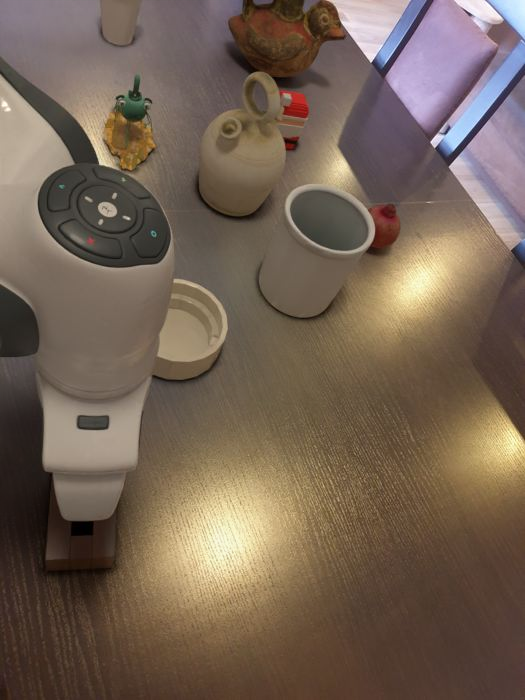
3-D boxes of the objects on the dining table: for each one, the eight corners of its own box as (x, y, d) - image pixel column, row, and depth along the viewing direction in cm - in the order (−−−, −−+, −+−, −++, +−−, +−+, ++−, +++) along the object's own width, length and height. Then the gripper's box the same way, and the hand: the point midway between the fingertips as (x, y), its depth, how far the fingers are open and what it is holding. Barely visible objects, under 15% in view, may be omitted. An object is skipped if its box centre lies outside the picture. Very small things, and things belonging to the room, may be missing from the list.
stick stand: (46, 571, 66) (44, 560, 61) (54, 470, 72) (53, 452, 68) (111, 567, 68) (115, 556, 64) (114, 469, 75) (117, 453, 70)
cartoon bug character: (155, 113, 114) (167, 50, 102) (152, 183, 107) (164, 123, 94) (106, 103, 111) (112, 36, 99) (99, 174, 104) (105, 111, 91)
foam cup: (147, 44, 126) (155, -16, 115) (114, 53, 121) (119, -9, 110) (120, 20, 128) (125, -42, 117) (86, 27, 122) (88, -37, 112)
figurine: (292, 130, 125) (312, 81, 115) (298, 152, 121) (319, 103, 112) (256, 124, 122) (272, 74, 112) (261, 147, 118) (278, 97, 109)
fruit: (345, 244, 110) (367, 207, 102) (358, 220, 115) (380, 183, 107) (381, 264, 110) (406, 229, 102) (392, 240, 115) (417, 205, 107)
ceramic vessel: (317, 110, 131) (363, 1, 111) (211, 66, 128) (239, -54, 108) (328, 73, 141) (372, -33, 121) (230, 31, 138) (259, -85, 118)
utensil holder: (242, 258, 101) (271, 184, 86) (313, 250, 107) (351, 179, 93) (272, 326, 95) (308, 259, 80) (345, 313, 101) (391, 248, 87)
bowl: (123, 379, 82) (127, 358, 77) (125, 297, 89) (128, 274, 84) (221, 383, 86) (231, 364, 81) (215, 305, 93) (223, 283, 89)
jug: (208, 228, 102) (243, 109, 82) (179, 167, 108) (206, 43, 88) (280, 219, 109) (330, 108, 88) (250, 163, 115) (290, 46, 95)
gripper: (62, 249, 47) (63, 337, 59) (39, 488, 37) (46, 539, 48) (138, 256, 49) (126, 340, 60) (137, 486, 39) (122, 536, 50)
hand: (90, 430), depth 54 cm, fingers open, 8 cm apart
